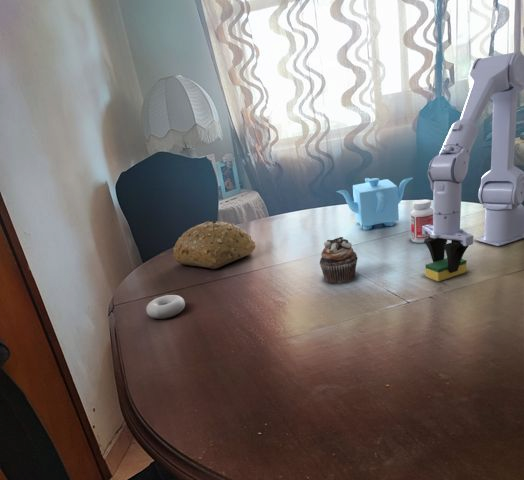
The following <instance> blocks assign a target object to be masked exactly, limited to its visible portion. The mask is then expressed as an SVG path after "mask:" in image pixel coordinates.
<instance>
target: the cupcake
mask: <svg viewBox="0 0 524 480" xmlns="http://www.w3.org/2000/svg"><path fill="white" fill-rule="evenodd" d="M323 245H324V248H323V250H322V251H321V253H320V255H321V257H320V259H319V266H320V268H321V272H322V275H323V278H324V281H325V282H326V283H329V284H344V283H349V282H351V281H352V280H354V279H355V278H356V271H357V264H358V256H357V252H355V251H354V248H353V247H352V246H353V244H352V242H349V239H346V238H344V237H343V236H340V237H336V238H333V239H327V240H326V241H324V243H323Z"/></svg>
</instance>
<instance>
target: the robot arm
mask: <svg viewBox="0 0 524 480" xmlns="http://www.w3.org/2000/svg"><path fill="white" fill-rule="evenodd" d="M468 85H469V92H468V96H467V98H466V101H465V104H464V107H463V110H462V113H461V116H460V117H459V120H457V121H455V122H453V123H452V125H451V127H450V129H449V131H448V133H447V136H446V138H445V140H444V142H443V144H442V147H441V149H440V151H439V154H436V156H434V157H432V159H431V160H430V162H429V165H428V170H427V178H428V180H429V183H430V190H431V192H432V193H433V195H432V196H433V197H432V198H433V199H432V209H433V225H430V224H428V225H425V226H422V234H424V235H426V234H429V237H428V238H426V239H424V243H423V244H425V246H426V248H427V250H428V252H429V254H430V258H431V260H432V261H431V262H432V263H433V262H436V261H439V260H442V259H445V254H446V258H447V260H448V271H449V273H453V272H456V271H458V268H459V265H460V262H461V259H463V256H464V254H465V252H466V251H467V249H468V247H469V246H471V245H474V235H473V234H470V233H468V232H467V231H465V230H463V229H462V228H461V213H462V212H461V211H462V187H463V186H462V182H463V181H464V180H465V178H466V176H467V174H468V171H469V162H470V158H471V156H470V153H471V150H472V148H473V146H474V143H475V141H476V139H477V137H478V135H479V127H478V126H477V124H478V122H479V120H480V119H481V117H482V115H483V113H484V111H485V110H486V107H487V106H488V104H489V102H490V100H492V103H493V105H492V133H491V162H490V169H489V170H488V171H486V172H485V173H484V174H483V175H482V177H481V179H480V185H479V189H478V200H479V203H480V204H481V205H482V208H483V209H485V212H484V229H483V236H481V237H477V238H476V239H475V240H476V242H481V243H485V244H489V245H493V246H496V247H501V246H504V245H507V244H510V243H513V242H516V241H519V240H522V239H524V205H523V202H524V171H523V170H522V169H520V168H519V167H518V166H515V165H514V163H515V147H516V131H517V130H516V129H517V128H516V127H517V114H518V113H517V112H518V96H519V93H520V92H522V91H523V90H524V54H523V52H522V51H520V50H516V51H514V52H510V53H503V54H499V55H494V56H488V57H483V58H482V57H478V58H476V59H475V60H474V61H473V63H472V64H471V66H470V69H469V74H468ZM448 241H450V242H448Z"/></svg>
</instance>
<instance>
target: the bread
mask: <svg viewBox="0 0 524 480" xmlns="http://www.w3.org/2000/svg"><path fill="white" fill-rule="evenodd" d="M177 239H178V240H176V242H175V245H174V246H173V249H172V250H173V252H172V253H173V254H172V258H173V259H174V260H175V262H177V263H178V264H180V265H185V266H192V267H200V268H208V269H210V270H215V269H220V268H221V267H223V266H226V265H229V264H231V263H233V262H235V261H238V260H240V259H243V258H245V257H246V256H248V255H250V254H251V253H253V252H254V250H255V249H256V243H255V241H254V240H253V239H252V236H251V235H250V234H249V233H247V232H246V230H244V229H243V228H241V227H239V226H236V225H235V223H229V222H226V221H216V220H213V221H205V222H201V223H200V224H199V223H198V224H197V225H194V226H192V227H190V228H188V229H187V230H186V231H184V232H183V233H182V234H181V236H180V237H178V238H177Z"/></svg>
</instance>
